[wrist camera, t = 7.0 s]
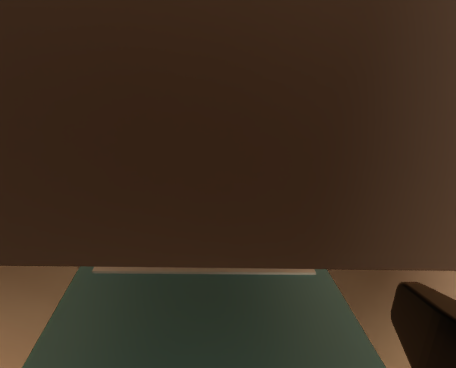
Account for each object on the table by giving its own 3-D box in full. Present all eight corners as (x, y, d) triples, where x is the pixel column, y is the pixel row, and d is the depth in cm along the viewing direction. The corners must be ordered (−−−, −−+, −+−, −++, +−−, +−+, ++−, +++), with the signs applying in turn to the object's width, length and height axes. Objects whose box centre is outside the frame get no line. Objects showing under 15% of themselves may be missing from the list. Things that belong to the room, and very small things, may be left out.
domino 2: (278, 257, 12) (412, 598, 4) (123, 256, 12) (-21, 629, 4) (285, 198, 11) (456, 479, 4) (120, 194, 11) (-59, 504, 3)
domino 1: (292, 119, 11) (530, 277, 3) (115, 111, 10) (-137, 270, 3) (301, 41, 10) (638, -12, 2) (111, 28, 9) (-248, -90, 2)
